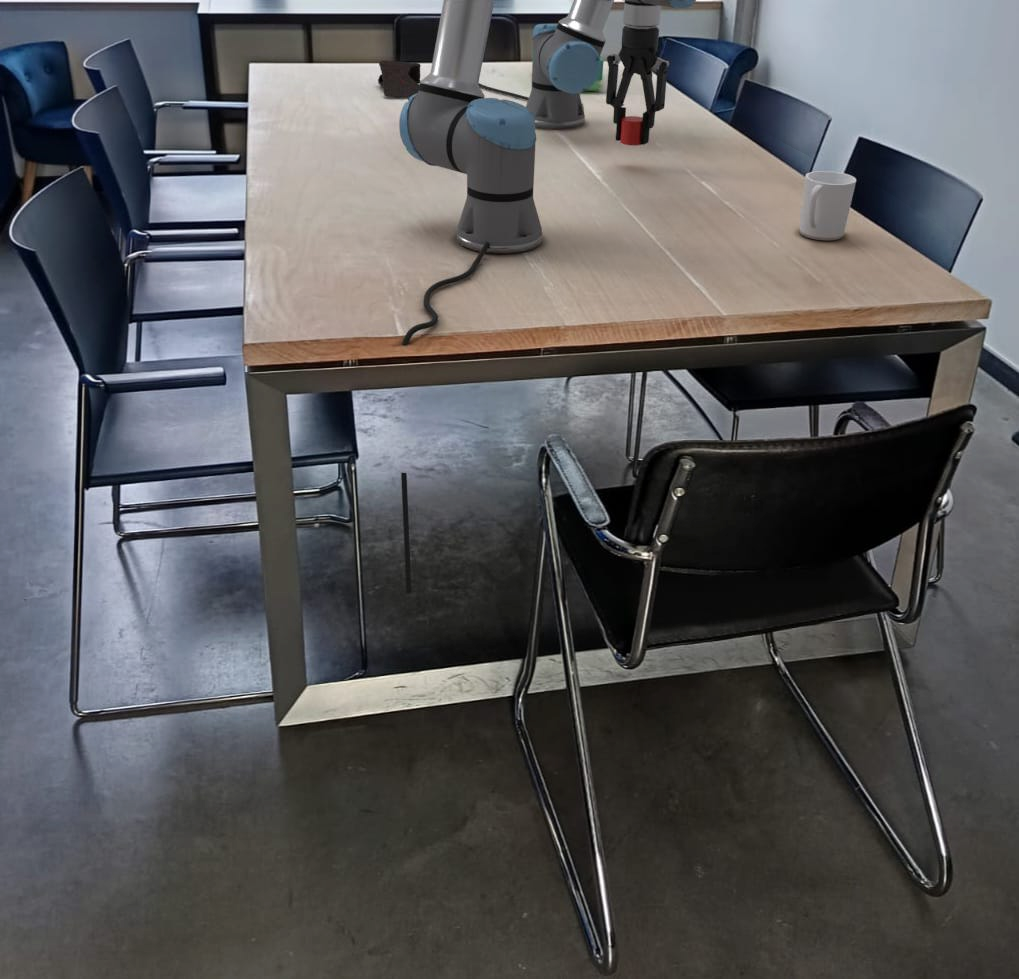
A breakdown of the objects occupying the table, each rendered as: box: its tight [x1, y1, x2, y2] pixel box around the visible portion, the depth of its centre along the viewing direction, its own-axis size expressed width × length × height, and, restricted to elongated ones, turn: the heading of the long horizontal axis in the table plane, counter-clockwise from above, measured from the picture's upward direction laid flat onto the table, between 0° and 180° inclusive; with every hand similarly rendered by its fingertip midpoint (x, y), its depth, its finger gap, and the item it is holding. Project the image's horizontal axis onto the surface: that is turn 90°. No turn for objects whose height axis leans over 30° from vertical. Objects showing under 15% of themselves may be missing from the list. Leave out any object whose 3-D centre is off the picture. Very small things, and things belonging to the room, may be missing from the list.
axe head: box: [377, 59, 421, 99], centre depth 299 cm, size 18×8×15 cm
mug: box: [798, 170, 857, 241], centre depth 199 cm, size 11×9×10 cm
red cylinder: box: [619, 115, 643, 146], centre depth 235 cm, size 5×5×5 cm
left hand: (632, 141), depth 237 cm, fingers closed on red cylinder, 5 cm apart
